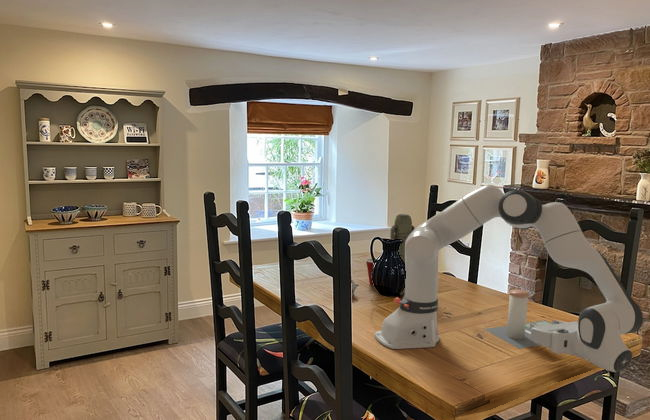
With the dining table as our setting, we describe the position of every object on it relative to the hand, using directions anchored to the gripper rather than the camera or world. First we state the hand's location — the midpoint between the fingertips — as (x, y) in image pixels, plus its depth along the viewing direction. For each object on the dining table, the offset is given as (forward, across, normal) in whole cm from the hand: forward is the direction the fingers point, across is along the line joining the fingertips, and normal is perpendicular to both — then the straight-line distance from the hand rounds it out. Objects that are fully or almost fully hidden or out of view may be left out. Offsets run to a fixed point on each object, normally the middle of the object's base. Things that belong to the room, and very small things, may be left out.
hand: (542, 323), depth 168 cm
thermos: (+72, +12, +10) cm, 73 cm away
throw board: (+12, -8, +10) cm, 17 cm away
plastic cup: (+86, +17, +10) cm, 88 cm away
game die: (+74, +37, +10) cm, 83 cm away
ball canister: (+12, 0, +9) cm, 15 cm away
